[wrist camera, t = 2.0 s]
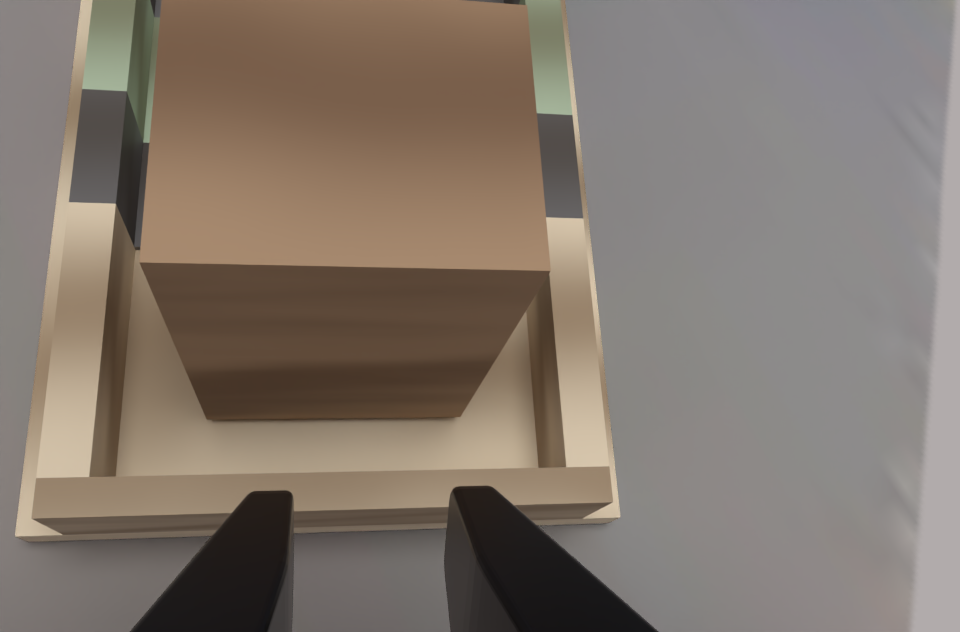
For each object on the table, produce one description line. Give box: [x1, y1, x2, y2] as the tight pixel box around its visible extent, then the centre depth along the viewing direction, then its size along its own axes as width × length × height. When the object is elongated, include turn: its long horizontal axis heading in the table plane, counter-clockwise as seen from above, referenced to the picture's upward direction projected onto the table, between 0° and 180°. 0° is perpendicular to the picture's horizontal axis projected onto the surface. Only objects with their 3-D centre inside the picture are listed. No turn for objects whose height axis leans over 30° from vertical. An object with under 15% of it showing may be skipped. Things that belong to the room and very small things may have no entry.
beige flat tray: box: [15, 0, 620, 542], centre depth 24 cm, size 21×14×4 cm, turn 3°
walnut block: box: [139, 0, 551, 420], centre depth 18 cm, size 5×6×9 cm
